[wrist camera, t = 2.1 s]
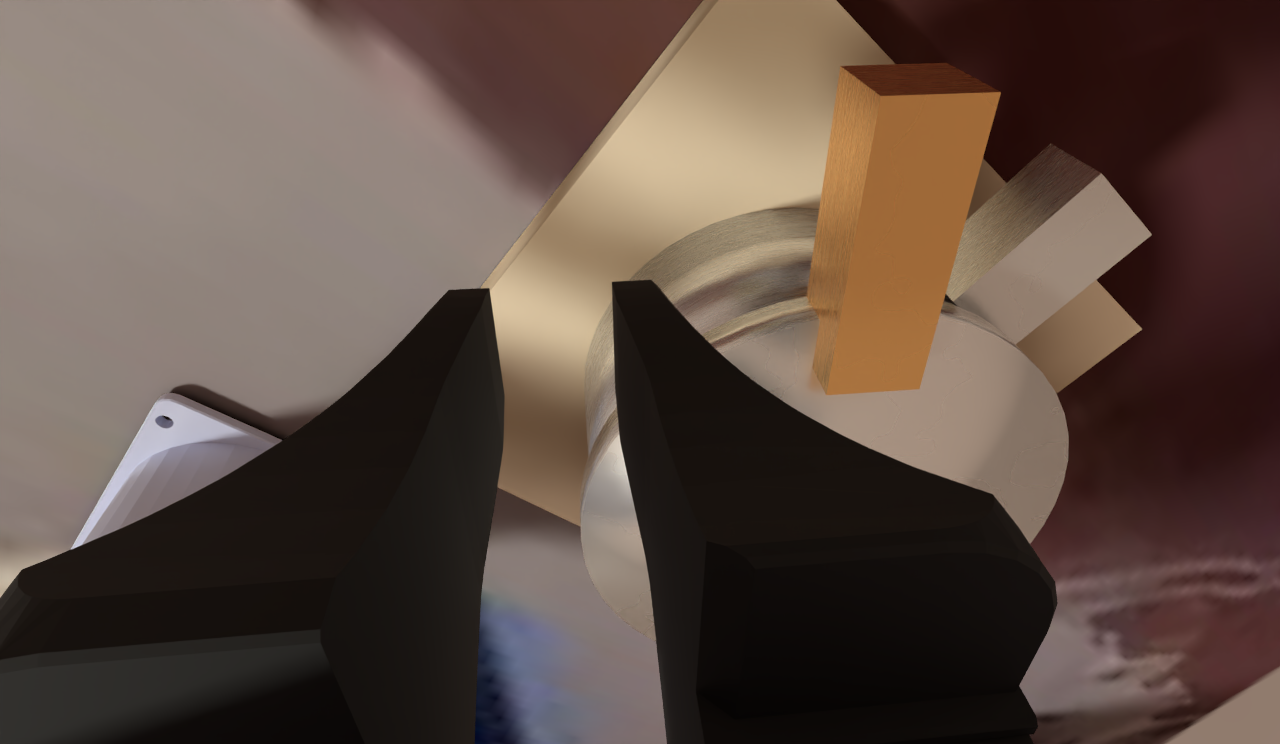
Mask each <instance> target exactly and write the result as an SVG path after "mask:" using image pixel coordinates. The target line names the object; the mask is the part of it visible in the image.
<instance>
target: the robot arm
mask: <svg viewBox="0 0 1280 744" xmlns="http://www.w3.org/2000/svg"><path fill="white" fill-rule="evenodd" d="M612 306H613V338H614V370H615V393H616V404H617V415H618V425H619V436H620V443H621V448H622V453H623V457H624V462H625V467H626V471H627V476H628V480H629V485H630V489H631V494H632V499H633V503H634V508H635V512H636V517H637V521H638V526H639V530H640V535H641V539H642V544H643V548H644V553H645V558H646V564H647V570H648V576H649V582H650V591H651V600H652V608H653V617H654V626H655V635H656V644H657V653H658V662H659V671H660V681H661V690H662V699H663V709H664V718H665V728H666V738H667V744H1033V742H1032V740H1031V738H1030V736H1029V734H1034V732H1035V731H1036V729H1037V727H1038V725H1037V718H1036V715H1035V714H1034V712H1033V710H1032V708H1031V706H1030V705H1029V703H1028V701H1027V699H1026V697H1025V696H1024V694H1023V692H1022V690H1021V689H1020V687H1019V685H1020V683H1021V681H1022V679H1023V677H1024V675H1025V673H1026V671H1027V670H1028V668H1029V666H1030V664H1031V662H1032V660H1033V658H1034V656H1035V655H1036V653H1037V651H1038V649H1039V647H1040V645H1041V643H1042V641H1043V640H1044V638H1045V636H1046V634H1047V632H1048V629H1049V627H1050V624H1051V621H1052V618H1053V615H1054V612H1055V609H1056V606H1057V595H1056V586H1055V581H1054V580H1053V578H1052V577H1051V575H1050V574H1049V572H1048V571H1047V569H1046V568H1045V567H1044V565H1043V564H1042V562H1041V561H1040V559H1039V558H1038V556H1037V554H1036V553H1035V551H1034V550H1033V548H1032V546H1031V545H1030V543H1029V542H1028V540H1027V539H1026V537H1025V536H1024V534H1023V533H1022V531H1021V530H1020V528H1019V527H1018V526H1017V524H1016V523H1015V522H1014V520H1013V519H1012V518H1011V517H1010V515H1009V514H1008V513H1007V511H1006V510H1005V509H1004V508H1003V506H1002V505H1001V504H1000V503H999V501H998V500H997V499H996V498H995V497H994V495H993V494H991V493H988V492H985V491H982V490H979V489H976V488H973V487H970V486H967V485H965V484H962V483H959V482H956V481H953V480H950V479H947V478H944V477H941V476H938V475H936V474H933V473H930V472H927V471H924V470H921V469H918V468H915V467H913V466H910V465H908V464H905V463H903V462H901V461H898V460H896V459H894V458H891V457H889V456H887V455H884V454H882V453H880V452H877V451H875V450H873V449H870V448H868V447H866V446H864V445H862V444H860V443H858V442H856V441H853V440H851V439H849V438H847V437H845V436H843V435H841V434H839V433H837V432H835V431H834V430H832V429H830V428H828V427H826V426H824V425H823V424H821V423H819V422H817V421H815V420H814V419H812V418H810V417H808V416H806V415H804V414H803V413H801V412H800V411H798V410H796V409H795V408H793V407H791V406H790V405H788V404H786V403H785V402H783V401H782V400H781V399H779V398H778V397H776V396H775V395H773V394H772V393H770V392H769V391H767V390H766V389H765V388H763V387H762V386H760V385H759V384H757V383H756V382H755V381H753V380H752V379H751V378H749V377H748V376H747V375H745V374H744V373H743V372H741V371H740V370H739V369H738V368H737V367H736V366H734V365H733V364H732V363H731V362H730V361H728V360H727V359H726V358H725V357H724V356H723V355H722V354H721V353H720V352H718V351H717V350H716V349H715V348H714V347H713V346H712V345H711V344H710V343H709V342H708V341H707V340H706V339H705V338H704V337H703V336H702V335H701V334H700V333H699V332H698V331H697V330H696V329H695V328H694V327H693V326H692V325H691V324H690V323H689V322H688V320H687V319H686V318H685V317H684V316H683V315H682V314H681V313H680V312H679V310H678V309H677V308H676V307H675V306H674V305H673V304H672V302H671V301H670V300H669V299H668V298H667V296H666V295H665V294H664V293H663V292H662V290H661V289H660V288H659V287H658V286H657V285H656V284H655V283H654V282H653V281H652V280H635V281H616V282H612ZM504 406H505V394H504V387H503V380H502V373H501V366H500V359H499V352H498V345H497V338H496V331H495V324H494V317H493V310H492V303H491V296H490V289H489V288H480V289H460V290H448V291H447V293H446V294H445V295H444V296H443V297H442V298H441V299H440V300H439V301H438V302H437V303H436V304H435V305H434V306H433V307H432V309H431V310H430V311H429V312H428V313H427V314H426V315H425V316H424V317H423V318H422V320H421V321H420V322H419V323H418V324H417V325H416V326H415V327H414V328H413V329H412V331H411V332H410V333H409V334H408V335H407V336H406V337H405V338H404V339H403V340H402V341H401V342H400V343H399V344H398V345H397V346H396V347H395V348H394V349H393V350H392V351H391V352H390V354H389V355H388V356H387V357H386V358H384V359H383V360H382V361H381V362H380V363H379V364H378V365H377V366H376V367H375V368H374V369H372V370H371V371H370V372H369V373H368V374H367V375H366V376H365V377H364V378H363V379H362V380H361V381H359V382H358V383H357V384H356V385H355V386H354V387H353V388H352V389H351V390H350V391H348V392H347V393H346V394H345V395H344V396H342V397H341V398H340V399H339V400H338V401H336V402H335V403H334V404H333V405H331V406H330V407H329V408H327V409H326V410H325V411H324V412H322V413H321V414H320V415H318V416H317V417H315V418H314V419H313V420H311V421H310V422H309V423H307V424H306V425H305V426H303V427H302V428H300V429H299V430H298V431H296V432H295V433H293V434H292V435H290V436H289V437H287V438H286V439H284V440H281V439H278V438H276V437H274V436H272V435H269V434H267V433H265V432H263V431H260V430H258V429H256V428H254V427H251V426H249V425H247V424H245V423H242V422H240V421H238V420H236V419H233V418H231V417H229V416H227V415H224V414H222V413H220V412H218V411H215V410H213V409H211V408H209V407H206V406H204V405H202V404H200V403H197V402H195V401H193V400H191V399H188V398H186V397H184V396H182V395H179V394H175V393H166V394H163V395H161V396H160V397H159V398H158V400H157V401H156V402H155V404H154V406H153V407H152V409H151V411H150V413H149V414H148V416H147V418H146V419H145V421H144V423H143V425H142V426H141V428H140V430H139V432H138V433H137V435H136V437H135V439H134V440H133V442H132V444H131V446H130V447H129V449H128V451H127V453H126V454H125V456H124V458H123V459H122V461H121V463H120V465H119V466H118V468H117V470H116V472H115V473H114V475H113V477H112V479H111V480H110V482H109V484H108V486H107V487H106V489H105V491H104V492H103V494H102V496H101V498H100V499H99V501H98V503H97V505H96V506H95V508H94V510H93V512H92V513H91V515H90V517H89V519H88V520H87V522H86V524H85V526H84V527H83V529H82V531H81V532H80V534H79V536H78V538H77V539H76V541H75V543H74V545H73V546H72V548H71V550H69V551H67V552H64V553H62V554H60V555H57V556H55V557H52V558H50V559H48V560H45V561H43V562H40V563H38V564H35V565H33V566H30V567H28V568H25V569H22V570H21V572H20V573H19V574H18V575H17V577H16V578H15V579H14V581H13V582H12V583H11V584H10V586H9V587H8V588H7V590H6V591H5V592H4V594H3V595H2V597H1V598H0V744H474V741H475V711H476V687H477V664H478V643H479V624H480V605H481V591H482V582H483V574H484V566H485V560H486V554H487V547H488V541H489V535H490V529H491V523H492V517H493V511H494V505H495V499H496V492H497V486H498V480H499V473H500V467H501V461H502V454H503V443H504ZM162 416H167V417H169V418H170V419H172V421H171V420H167V419H165V418H164V417H162Z"/></svg>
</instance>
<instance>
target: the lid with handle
mask: <svg viewBox="0 0 1280 744" xmlns="http://www.w3.org/2000/svg"><path fill="white" fill-rule="evenodd" d="M1000 94H1001V92H1000V91H998V90H996V89H994V88H992V87H991V86H989V85H987V84H985V83H983V82H981V81H979V80H978V79H976V78H974V77H972V76H970V75H968V74H966V73H965V72H963V71H961V70H959V69H957V68H955V67H953V66H952V65H950V64H948V63H923V64H889V65H855V66H840V72H839V79H838V86H837V93H836V99H835V106H834V113H833V120H832V127H831V133H830V140H829V147H828V154H827V161H826V167H825V174H824V181H823V188H822V194H821V201H820V208H819V215H818V222H817V228H816V235H815V242H814V249H813V255H812V262H811V269H810V276H809V283H808V289H807V296H806V297H802V298H797V299H793V300H788V301H784V302H780V303H776V304H773V305H770V306H767V307H764V308H761V309H758V310H756V311H753V312H750V313H747V314H744V315H741V316H739V317H737V318H735V319H733V320H731V321H728V322H726V323H724V324H722V325H720V326H718V327H716V328H713V329H711V330H709V331H707V332H706V333H704V334H702V336H703V337H704V338H705V339H706V340H707V341H708V342H709V343H710V344H711V345H712V346H713V347H714V348H715V349H716V350H717V351H718V352H720V353H721V354H722V355H723V356H724V357H725V358H726V359H727V360H728V361H730V362H731V363H732V364H733V365H734V366H736V367H737V368H738V369H739V370H740V371H741V372H743V373H744V374H745V375H747V376H748V377H749V378H751V379H752V380H753V381H755V382H756V383H757V384H759V385H760V386H762V387H763V388H765V389H766V390H767V391H769V392H770V393H772V394H773V395H775V396H776V397H778V398H779V399H781V400H782V401H783V402H785V403H786V404H788V405H790V406H791V407H793V408H795V409H796V410H798V411H800V412H801V413H803V414H804V415H806V416H808V417H810V418H812V419H814V420H815V421H817V422H819V423H821V424H823V425H824V426H826V427H828V428H830V429H832V430H834V431H835V432H837V433H839V434H841V435H843V436H845V437H847V438H849V439H851V440H853V441H856V442H858V443H860V444H862V445H864V446H866V447H868V448H870V449H873V450H875V451H877V452H880V453H882V454H884V455H887V456H889V457H891V458H894V459H896V460H898V461H901V462H903V463H905V464H908V465H910V466H913V467H915V468H918V469H921V470H924V471H927V472H930V473H933V474H936V475H938V476H941V477H944V478H947V479H950V480H953V481H956V482H959V483H962V484H965V485H967V486H970V487H973V488H976V489H979V490H982V491H985V492H988V493H991V494H993V495H994V497H995V498H996V499H997V500H998V501H999V503H1000V504H1001V505H1002V506H1003V508H1004V509H1005V510H1006V511H1007V513H1008V514H1009V515H1010V517H1011V518H1012V519H1013V520H1014V522H1015V523H1016V524H1017V526H1018V527H1019V528H1020V530H1021V531H1022V533H1023V534H1024V536H1025V537H1026V539H1027V540H1028V542H1029V543H1031V542H1032V541H1033V539H1034V538H1035V537H1036V535H1037V534H1038V532H1039V531H1040V530H1041V528H1042V527H1043V525H1044V524H1045V522H1046V520H1047V518H1048V516H1049V514H1050V513H1051V511H1052V509H1053V507H1054V505H1055V503H1056V501H1057V498H1058V495H1059V493H1060V490H1061V487H1062V485H1063V482H1064V477H1065V473H1066V468H1067V463H1068V447H1069V435H1068V429H1067V424H1066V418H1065V413H1064V411H1063V409H1062V406H1061V404H1060V401H1059V399H1058V396H1057V394H1056V392H1055V390H1054V389H1053V387H1052V386H1051V385H1050V383H1049V382H1048V380H1047V379H1046V377H1045V376H1044V374H1043V373H1042V372H1041V371H1040V370H1039V368H1038V367H1037V366H1036V365H1035V364H1034V363H1033V362H1032V361H1031V360H1030V359H1029V358H1028V357H1027V356H1026V355H1025V354H1024V353H1023V351H1022V350H1021V349H1020V348H1019V347H1018V346H1017V345H1016V344H1015V343H1014V342H1013V341H1011V340H1010V339H1009V338H1008V337H1007V336H1006V335H1005V334H1004V333H1003V332H1002V331H1001V330H1000V329H998V328H997V327H995V326H994V325H992V324H991V323H989V322H988V321H986V320H985V319H983V318H982V317H980V316H978V315H976V314H974V313H972V312H970V311H967V310H965V309H963V308H961V307H958V306H956V305H954V304H952V303H948V302H944V298H945V294H946V291H947V287H948V283H949V280H950V276H951V272H952V269H953V265H954V262H955V258H956V254H957V251H958V247H959V243H960V240H961V236H962V232H963V229H964V225H965V222H966V218H967V214H968V211H969V207H970V203H971V200H972V196H973V192H974V189H975V185H976V181H977V178H978V174H979V171H980V167H981V163H982V160H983V156H984V152H985V149H986V145H987V141H988V138H989V134H990V131H991V127H992V123H993V120H994V116H995V112H996V109H997V105H998V101H999V98H1000ZM580 526H581V543H582V549H583V555H584V560H585V564H586V567H587V569H588V572H589V575H590V577H591V580H592V582H593V584H594V586H595V587H596V589H597V590H598V592H599V594H600V595H601V597H602V598H603V600H604V601H605V602H606V603H607V604H608V606H609V607H610V608H611V609H612V610H613V611H614V612H615V613H616V614H617V616H619V617H620V618H621V619H622V620H624V621H625V622H626V623H627V624H629V625H630V626H631V627H632V628H633V629H635V630H637V631H638V632H640V633H642V634H643V635H645V636H647V637H648V638H650V639H652V640H654V641H656V635H655V626H654V617H653V608H652V600H651V591H650V582H649V576H648V570H647V564H646V558H645V553H644V548H643V544H642V539H641V535H640V530H639V526H638V521H637V517H636V512H635V508H634V503H633V499H632V494H631V489H630V485H629V480H628V476H627V471H626V467H625V462H624V457H623V453H622V448H621V443H620V436H619V425H618V415H617V407H616V408H615V410H614V411H613V412H612V414H611V415H610V416H609V417H608V419H607V421H606V423H605V424H604V426H603V428H602V430H601V431H600V433H599V435H598V437H597V438H596V440H595V442H594V444H593V447H592V449H591V452H590V455H589V457H588V460H587V463H586V465H585V469H584V474H583V479H582V484H581V489H580Z"/></svg>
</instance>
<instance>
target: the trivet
mask: <svg viewBox="0 0 1280 744" xmlns="http://www.w3.org/2000/svg"><path fill="white" fill-rule="evenodd" d="M889 64H895V63H894V62H893V61H892V60H891V59H890V58H889V57H888V55H887V54H886V53H885V52H884V51H883V50H882V49H881V48H880V47H879V46H878V45H877V44H876V43H875V42H874V40H873V39H872V38H871V37H870V36H869V35H868V34H867V33H866V32H865V31H864V30H863V29H862V28H861V26H860V25H859V24H858V23H857V22H856V21H855V20H854V19H853V18H852V17H851V16H850V15H849V14H848V12H847V11H846V10H845V9H844V8H843V7H842V6H841V5H840V4H839V3H838V2H837V1H836V0H703V1H702V3H701V4H700V5H699V7H698V8H697V9H696V10H695V12H694V13H693V14H692V16H691V17H690V18H689V19H688V21H687V22H686V23H685V25H684V26H683V27H682V28H681V30H680V31H679V32H678V34H677V35H676V36H675V37H674V39H673V40H672V41H671V43H670V44H669V45H668V47H667V48H666V49H665V50H664V52H663V53H662V54H661V56H660V57H659V58H658V59H657V61H656V62H655V63H654V65H653V66H652V67H651V68H650V70H649V71H648V72H647V74H646V75H645V76H644V77H643V79H642V80H641V81H640V83H639V84H638V85H637V86H636V88H635V89H634V90H633V92H632V93H631V94H630V96H629V97H628V98H627V99H626V101H625V102H624V103H623V105H622V106H621V107H620V108H619V110H618V111H617V112H616V114H615V115H614V116H613V117H612V119H611V120H610V121H609V123H608V124H607V125H606V126H605V128H604V129H603V130H602V132H601V133H600V134H599V135H598V137H597V138H596V139H595V141H594V142H593V143H592V144H591V146H590V147H589V148H588V150H587V151H586V152H585V154H584V155H583V156H582V157H581V159H580V160H579V161H578V163H577V164H576V165H575V166H574V168H573V169H572V170H571V172H570V173H569V174H568V175H567V177H566V178H565V179H564V181H563V182H562V183H561V184H560V186H559V187H558V188H557V190H556V191H555V192H554V193H553V195H552V196H551V197H550V199H549V200H548V201H547V203H546V204H545V205H544V206H543V208H542V209H541V210H540V212H539V213H538V214H537V215H536V217H535V218H534V219H533V221H532V222H531V223H530V224H529V226H528V227H527V228H526V230H525V231H524V232H523V233H522V235H521V236H520V237H519V239H518V240H517V241H516V242H515V244H514V245H513V246H512V248H511V249H510V250H509V252H508V253H507V254H506V255H505V257H504V258H503V259H502V261H501V262H500V263H499V264H498V266H497V267H496V268H495V270H494V271H493V272H492V273H491V275H490V276H489V277H488V279H487V280H486V281H485V282H484V284H483V285H482V286H481V288H489V289H490V296H491V303H492V310H493V317H494V324H495V331H496V338H497V345H498V352H499V359H500V366H501V373H502V380H503V387H504V394H505V406H504V443H503V454H502V461H501V467H500V473H499V480H498V486H497V487H498V488H500V489H502V490H504V491H507V492H509V493H511V494H513V495H515V496H517V497H519V498H521V499H523V500H525V501H527V502H530V503H532V504H534V505H536V506H538V507H540V508H542V509H544V510H546V511H548V512H550V513H553V514H555V515H557V516H559V517H561V518H563V519H565V520H567V521H569V522H571V523H573V524H576V525H578V526H580V489H581V484H582V479H583V474H584V469H585V465H586V463H587V460H588V444H587V428H586V411H585V394H584V377H585V364H586V360H587V356H588V351H589V347H590V343H591V341H592V338H593V336H594V333H595V331H596V328H597V326H598V323H599V322H600V320H601V318H602V316H603V315H604V313H605V311H606V309H607V308H608V306H609V304H610V303H611V301H612V282H616V281H628V280H629V279H630V278H631V277H632V276H633V275H634V274H635V273H636V272H637V271H638V270H639V269H640V268H641V267H642V266H643V265H645V264H646V263H647V262H648V261H650V260H651V259H652V258H654V257H655V256H656V255H657V254H659V253H660V252H661V251H663V250H664V249H665V248H667V247H669V246H670V245H672V244H674V243H675V242H677V241H679V240H680V239H682V238H684V237H685V236H687V235H689V234H691V233H693V232H695V231H697V230H700V229H702V228H704V227H706V226H709V225H711V224H713V223H716V222H719V221H722V220H725V219H728V218H731V217H735V216H738V215H741V214H746V213H751V212H757V211H762V210H767V209H780V208H795V207H797V208H813V209H819V208H820V201H821V194H822V188H823V181H824V174H825V167H826V161H827V154H828V147H829V140H830V133H831V127H832V120H833V113H834V106H835V99H836V93H837V86H838V79H839V72H840V66H855V65H889ZM1005 184H1007V183H1006V182H1005V181H1004V180H1003V179H1002V178H1001V177H1000V176H999V175H998V174H997V173H996V172H995V171H994V169H993V168H992V167H991V166H990V165H989V164H988V163H987V162H986V161H985V160H984V159H983V160H982V163H981V167H980V171H979V174H978V178H977V181H976V185H975V189H974V192H973V196H972V200H971V203H970V207H969V211H968V214H967V218H966V220H967V219H968V218H969V217H970V216H972V215H973V214H974V213H975V212H976V211H977V210H978V209H979V208H980V207H981V206H983V205H984V204H985V203H986V202H987V201H988V200H989V199H990V198H991V197H992V196H993V195H995V194H996V193H997V192H998V191H999V190H1000V189H1001V188H1002V187H1003V186H1004V185H1005ZM1141 330H1142V329H1141V327H1140V326H1139V325H1138V324H1137V323H1136V322H1135V321H1134V320H1133V319H1132V318H1131V317H1130V316H1129V315H1128V313H1127V312H1126V311H1125V310H1124V309H1123V308H1122V307H1121V306H1120V305H1119V304H1118V303H1117V302H1116V301H1115V300H1114V298H1113V297H1112V296H1111V295H1110V294H1109V293H1108V292H1107V291H1106V290H1105V289H1104V288H1103V287H1102V286H1101V284H1100V283H1099V282H1098V281H1097V280H1095V281H1094V282H1093V283H1091V284H1090V285H1089V286H1088V287H1086V288H1085V289H1084V290H1083V291H1082V292H1080V293H1079V294H1078V295H1077V296H1075V297H1074V298H1073V299H1072V300H1070V301H1069V302H1068V303H1067V304H1065V305H1064V306H1063V307H1062V308H1060V309H1059V310H1058V311H1057V312H1055V313H1054V314H1053V315H1052V316H1050V317H1049V318H1048V319H1047V320H1045V321H1044V322H1043V323H1042V324H1040V325H1039V326H1038V327H1037V328H1035V329H1034V330H1033V331H1032V332H1031V333H1029V334H1028V335H1027V336H1026V337H1024V338H1023V339H1022V340H1021V341H1019V342H1018V343H1017V344H1016V345H1017V346H1018V347H1019V348H1020V349H1021V350H1022V351H1023V353H1024V354H1025V355H1026V356H1027V357H1028V358H1029V359H1030V360H1031V361H1032V362H1033V363H1034V364H1035V365H1036V366H1037V367H1038V368H1039V370H1040V371H1041V372H1042V373H1043V374H1044V376H1045V377H1046V379H1047V380H1048V382H1049V383H1050V385H1051V386H1052V387H1053V389H1054V390H1055V392H1056V394H1057V393H1058V392H1059V391H1061V390H1062V389H1063V388H1065V387H1066V386H1067V385H1069V384H1070V383H1071V382H1073V381H1074V380H1075V379H1077V378H1078V377H1079V376H1081V375H1082V374H1083V373H1085V372H1086V371H1087V370H1089V369H1090V368H1091V367H1093V366H1094V365H1095V364H1097V363H1098V362H1099V361H1101V360H1102V359H1103V358H1105V357H1106V356H1107V355H1109V354H1110V353H1111V352H1113V351H1114V350H1115V349H1117V348H1118V347H1119V346H1121V345H1122V344H1123V343H1125V342H1126V341H1127V340H1129V339H1130V338H1131V337H1133V336H1134V335H1135V334H1137V333H1138V332H1139V331H1141ZM580 527H581V526H580Z"/></svg>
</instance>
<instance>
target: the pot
mask: <svg viewBox="0 0 1280 744" xmlns="http://www.w3.org/2000/svg"><path fill="white" fill-rule="evenodd" d="M818 215H819V209H813V208H797V207H795V208H780V209H767V210H762V211H757V212H751V213H746V214H741V215H738V216H735V217H731V218H728V219H725V220H722V221H719V222H716V223H713V224H711V225H709V226H706V227H704V228H702V229H700V230H697V231H695V232H693V233H691V234H689V235H687V236H685V237H684V238H682V239H680V240H679V241H677V242H675V243H674V244H672V245H670V246H669V247H667V248H665V249H664V250H663V251H661V252H660V253H659V254H657V255H656V256H655V257H654V258H652V259H651V260H650V261H648V262H647V263H646V264H645V265H643V266H642V267H641V268H640V269H639V270H638V271H637V272H636V273H635V274H634V275H633V276H632V277H631V278H630V279H629V280H628V281H635V280H652V281H653V282H654V283H655V284H656V285H657V286H658V287H659V288H660V289H661V290H662V292H663V293H664V294H665V295H666V296H667V298H668V299H669V300H670V301H671V302H672V304H673V305H674V306H675V307H676V308H677V309H678V310H679V312H680V313H681V314H682V315H683V316H684V317H685V318H686V319H687V320H688V322H689V323H690V324H691V325H692V326H693V327H694V328H695V329H696V330H697V331H698V332H699V333H700V334H701V335H702V334H704V333H706V332H707V331H709V330H711V329H713V328H716V327H718V326H720V325H722V324H724V323H726V322H728V321H731V320H733V319H735V318H737V317H739V316H741V315H744V314H747V313H750V312H753V311H756V310H758V309H761V308H764V307H767V306H770V305H773V304H776V303H780V302H784V301H788V300H793V299H797V298H802V297H806V296H807V289H808V283H809V276H810V269H811V262H812V255H813V249H814V242H815V235H816V228H817V222H818ZM1151 235H1152V234H1151V233H1150V232H1149V230H1148V229H1147V228H1146V227H1145V226H1144V224H1143V223H1142V222H1141V221H1140V219H1139V218H1138V217H1137V216H1136V215H1135V213H1134V212H1133V211H1132V210H1131V209H1130V207H1129V206H1128V205H1127V204H1126V202H1125V201H1124V200H1123V199H1122V198H1121V196H1120V195H1119V194H1118V193H1117V192H1116V190H1115V189H1114V188H1113V187H1112V186H1111V184H1110V183H1109V182H1108V181H1107V179H1106V178H1105V177H1104V176H1103V175H1102V173H1100V172H1098V171H1097V170H1095V169H1093V168H1092V167H1090V166H1088V165H1086V164H1085V163H1083V162H1081V161H1080V160H1078V159H1076V158H1075V157H1073V156H1071V155H1069V154H1068V153H1066V152H1064V151H1063V150H1061V149H1059V148H1058V147H1056V146H1054V145H1052V144H1051V143H1050V144H1049V145H1048V146H1047V147H1046V148H1045V149H1044V150H1043V151H1042V152H1041V153H1039V154H1038V155H1037V156H1036V157H1035V158H1034V159H1033V160H1032V161H1031V162H1030V163H1028V164H1027V165H1026V166H1025V167H1024V168H1023V169H1022V170H1021V171H1020V172H1019V173H1018V174H1016V175H1015V176H1014V177H1013V178H1012V179H1011V180H1010V181H1009V182H1008V183H1007V184H1005V185H1004V186H1003V187H1002V188H1001V189H1000V190H999V191H998V192H997V193H996V194H995V195H993V196H992V197H991V198H990V199H989V200H988V201H987V202H986V203H985V204H984V205H983V206H981V207H980V208H979V209H978V210H977V211H976V212H975V213H974V214H973V215H972V216H970V217H969V218H968V219H967V220H966V222H965V225H964V229H963V232H962V236H961V240H960V243H959V247H958V251H957V254H956V258H955V262H954V265H953V269H952V272H951V276H950V280H949V283H948V287H947V291H946V294H945V298H944V302H948V303H952V304H954V305H956V306H958V307H961V308H963V309H965V310H967V311H970V312H972V313H974V314H976V315H978V316H980V317H982V318H983V319H985V320H986V321H988V322H989V323H991V324H992V325H994V326H995V327H997V328H998V329H1000V330H1001V331H1002V332H1003V333H1004V334H1005V335H1006V336H1007V337H1008V338H1009V339H1010V340H1011V341H1013V342H1014V343H1015V344H1017V343H1018V342H1019V341H1021V340H1022V339H1023V338H1024V337H1026V336H1027V335H1028V334H1029V333H1031V332H1032V331H1033V330H1034V329H1035V328H1037V327H1038V326H1039V325H1040V324H1042V323H1043V322H1044V321H1045V320H1047V319H1048V318H1049V317H1050V316H1052V315H1053V314H1054V313H1055V312H1057V311H1058V310H1059V309H1060V308H1062V307H1063V306H1064V305H1065V304H1067V303H1068V302H1069V301H1070V300H1072V299H1073V298H1074V297H1075V296H1077V295H1078V294H1079V293H1080V292H1082V291H1083V290H1084V289H1085V288H1086V287H1088V286H1089V285H1090V284H1091V283H1093V282H1094V281H1095V280H1096V279H1098V278H1099V277H1100V276H1101V275H1103V274H1104V273H1105V272H1106V271H1108V270H1109V269H1110V268H1111V267H1113V266H1114V265H1115V264H1116V263H1118V262H1119V261H1120V260H1121V259H1123V258H1124V257H1125V256H1126V255H1128V254H1129V253H1130V252H1131V251H1133V250H1134V249H1135V248H1136V247H1137V246H1139V245H1140V244H1141V243H1142V242H1144V241H1145V240H1146V239H1147V238H1149V237H1150V236H1151ZM584 394H585V411H586V428H587V444H588V457H589V455H590V452H591V449H592V447H593V444H594V442H595V440H596V438H597V437H598V435H599V433H600V431H601V430H602V428H603V426H604V424H605V423H606V421H607V419H608V417H609V416H610V415H611V414H612V412H613V411H614V410H615V408H616V407H617V404H616V393H615V370H614V338H613V306H612V301H611V303H610V304H609V306H608V308H607V309H606V311H605V313H604V315H603V316H602V318H601V320H600V322H599V323H598V326H597V328H596V331H595V333H594V336H593V338H592V341H591V343H590V347H589V351H588V356H587V360H586V364H585V377H584Z"/></svg>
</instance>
